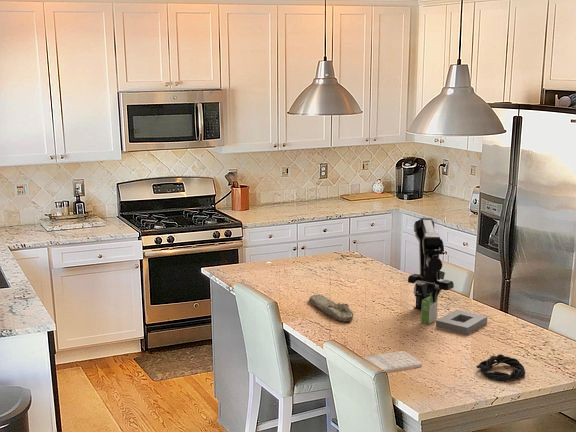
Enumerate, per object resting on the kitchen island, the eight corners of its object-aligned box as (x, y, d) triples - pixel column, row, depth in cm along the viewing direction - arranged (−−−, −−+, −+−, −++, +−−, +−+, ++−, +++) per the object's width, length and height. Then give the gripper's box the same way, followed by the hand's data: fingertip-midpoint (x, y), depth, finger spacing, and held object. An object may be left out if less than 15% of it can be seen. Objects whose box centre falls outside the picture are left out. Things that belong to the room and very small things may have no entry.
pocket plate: (435, 327, 303) (436, 320, 303) (456, 316, 317) (456, 309, 316) (467, 335, 294) (467, 327, 294) (486, 323, 308) (487, 316, 307)
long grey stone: (323, 301, 342) (303, 305, 338) (322, 290, 341) (303, 294, 337) (360, 320, 310) (339, 325, 306) (359, 308, 309) (338, 312, 305)
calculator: (423, 367, 263) (423, 362, 263) (373, 376, 256) (373, 370, 256) (403, 354, 275) (404, 349, 275) (355, 362, 268) (356, 357, 268)
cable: (506, 362, 268) (507, 350, 267) (537, 375, 256) (537, 363, 255) (471, 371, 260) (472, 359, 259) (501, 385, 248) (501, 373, 247)
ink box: (428, 317, 315) (430, 287, 312) (437, 319, 312) (438, 289, 309) (420, 322, 309) (421, 291, 307) (429, 324, 307) (430, 293, 304)
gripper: (460, 265, 306) (459, 301, 309) (421, 258, 318) (419, 293, 321) (447, 270, 298) (446, 307, 301) (407, 263, 310) (406, 298, 313)
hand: (429, 301), depth 309 cm, fingers closed on ink box, 4 cm apart
